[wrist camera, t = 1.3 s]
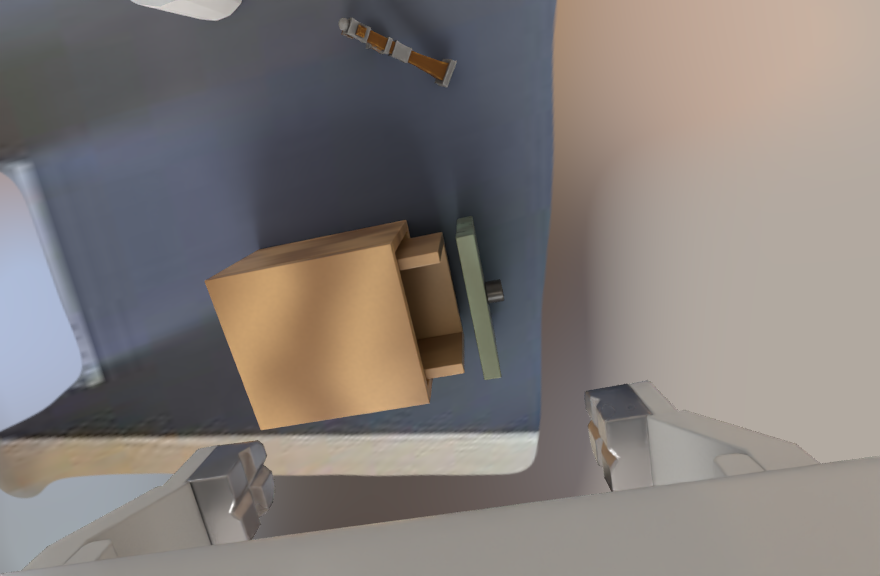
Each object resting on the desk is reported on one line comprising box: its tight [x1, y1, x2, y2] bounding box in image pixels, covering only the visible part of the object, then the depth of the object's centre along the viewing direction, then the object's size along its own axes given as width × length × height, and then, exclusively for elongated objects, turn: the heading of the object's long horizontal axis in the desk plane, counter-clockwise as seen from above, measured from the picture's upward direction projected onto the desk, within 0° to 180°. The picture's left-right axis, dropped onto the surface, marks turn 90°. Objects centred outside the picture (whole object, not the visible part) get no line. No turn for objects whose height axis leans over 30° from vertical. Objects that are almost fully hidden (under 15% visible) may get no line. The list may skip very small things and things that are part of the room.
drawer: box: [395, 216, 504, 380], centre depth 35 cm, size 13×10×7 cm
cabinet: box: [205, 220, 433, 430], centre depth 36 cm, size 13×12×9 cm
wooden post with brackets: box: [338, 18, 457, 87], centre depth 33 cm, size 2×8×4 cm, turn 69°
